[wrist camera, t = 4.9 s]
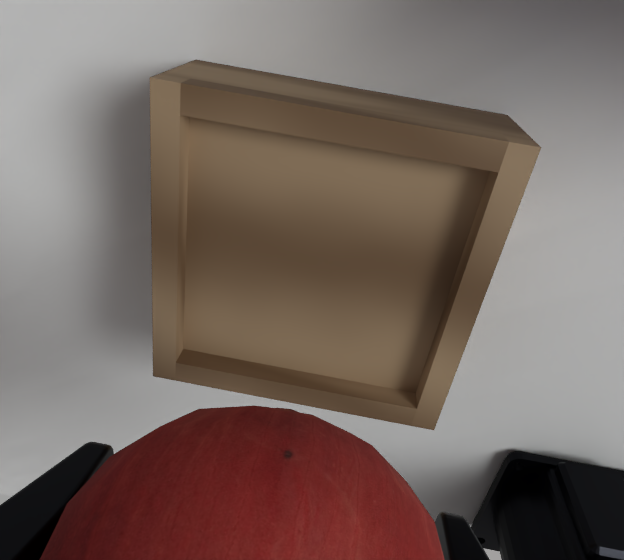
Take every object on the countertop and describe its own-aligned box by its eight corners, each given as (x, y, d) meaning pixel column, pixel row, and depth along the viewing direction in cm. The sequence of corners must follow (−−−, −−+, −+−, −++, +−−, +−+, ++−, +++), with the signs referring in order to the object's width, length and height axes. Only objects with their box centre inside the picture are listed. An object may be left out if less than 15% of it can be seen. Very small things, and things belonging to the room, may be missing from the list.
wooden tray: (425, 361, 21) (433, 429, 18) (187, 316, 21) (153, 376, 18) (507, 115, 16) (541, 147, 13) (195, 59, 16) (149, 77, 13)
